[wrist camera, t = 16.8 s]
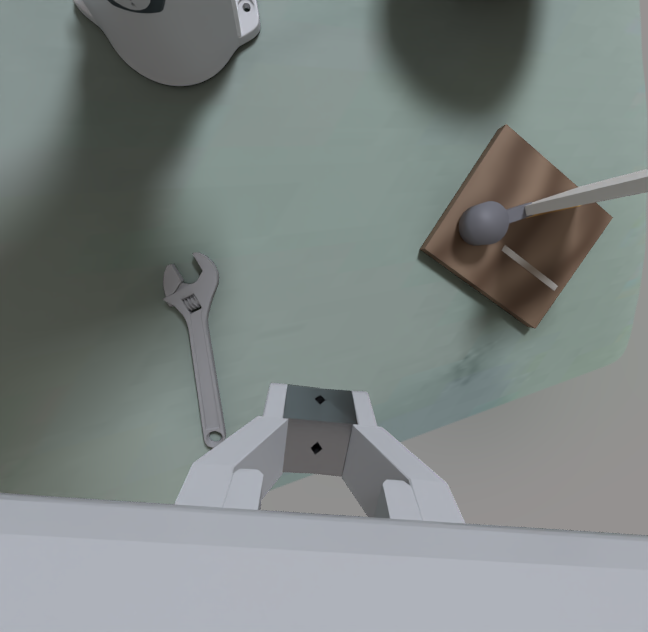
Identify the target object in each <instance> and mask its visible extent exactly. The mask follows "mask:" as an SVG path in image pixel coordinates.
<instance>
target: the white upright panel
mask: <svg viewBox="0 0 648 632" xmlns="http://www.w3.org/2000/svg"><path fill="white" fill-rule="evenodd" d="M645 192H648V169H645V170H641V171H638V172H634V173H630V174H626V175H622V176H618V177H615V178H611V179H607V180H603V181H599V182H595V183H592V184H588V185H584V186H580V187H577V188H574V189H571V190H568V191H565V192H562V193H559V194H556V195H553V196H550V197H547V198H544V199H541V200H538V201H535V202H530V203H526V204H522V205H518V206H515V207H512V208H509V209H505V208H504V207H503V206H502V205H501V204H500V203H498V202H494V201H488V202H484V203H481V204H478V205H474V206H472V207H470V208H468V209H467V210H466V211H465V212H464V213H463V214H462V216H461V218H460V221H459V233H460V235H461V237H462V239H463V240H464V241H465V242H466V243H468V244H470V245H473V246H479V245H489V244H494V243H497V242H498V241H500V240H501V239H502V238H503V237H504V236H505V234H506V232H507V230H508V226H509V223H512V222H515V221H518V220H521V219H524V218H527V217H530V216H533V215H534V214H539V213H544V212H549V211H554V210H559V209H564V208H569V207H574V206H579V205H584V204H589V203H594V202H600V201H605V200H610V199H615V198H620V197H625V196H630V195H635V194H640V193H645Z"/></svg>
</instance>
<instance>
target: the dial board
mask: <svg viewBox="0 0 648 632" xmlns="http://www.w3.org/2000/svg"><path fill="white" fill-rule="evenodd" d="M574 188H577V186H576V185H575V184H574V183H573V182H572V181H571V180H569V179H568V178H567V177H566V176H565V175H564V174H563V173H561V172H560V171H559V170H558V169H557V168H556V167H555V166H554V165H552V164H551V163H550V162H549V161H548V160H547V159H546V158H544V157H543V156H542V155H541V154H540V153H539V152H538V151H536V150H535V149H534V148H533V147H532V146H531V145H530V144H528V143H527V142H526V141H525V140H524V139H523V138H522V137H520V136H519V135H518V134H517V133H516V132H515V131H514V130H512V129H511V128H510V127H509V126H508V125H507V124H506V125H504V126H502V127H501V128H499V129H498V130H497V132H496V133H495V135H494V136H493V138H492V139H491V141H490V142H489V144H488V146H487V147H486V149H485V150H484V152H483V153H482V155H481V156H480V158H479V159H478V161H477V162H476V164H475V165H474V167H473V168H472V170H471V172H470V173H469V175H468V176H467V178H466V179H465V181H464V182H463V184H462V185H461V187H460V188H459V190H458V191H457V193H456V194H455V196H454V198H453V199H452V201H451V202H450V204H449V205H448V207H447V208H446V210H445V211H444V213H443V214H442V216H441V217H440V219H439V220H438V222H437V224H436V225H435V227H434V228H433V230H432V231H431V233H430V234H429V236H428V237H427V239H426V240H425V242H424V243H423V245H422V247H421V248H420V250H422V251H423V252H425V253H426V254H427V255H429V256H430V257H431V258H433V259H434V260H436V261H437V262H438V263H440V264H441V265H443V266H444V267H445V268H447V269H448V270H450V271H451V272H452V273H454V274H455V275H456V276H458V277H459V278H461V279H462V280H463V281H465V282H466V283H468V284H469V285H470V286H472V287H473V288H475V289H476V290H477V291H479V292H480V293H482V294H483V295H484V296H486V297H487V298H488V299H490V300H491V301H493V302H494V303H495V304H497V305H498V306H500V307H501V308H502V309H504V310H505V311H507V312H508V313H509V314H511V315H512V316H513V317H515V318H516V319H518V320H519V321H520V322H522V323H523V324H525V325H526V326H527V327H531V328H536V327H537V326H538V324H539V323H540V321H541V320H542V318H543V317H544V316H545V314H546V313H547V311H548V310H549V308H550V307H551V305H552V304H553V303H554V301H555V300H556V298H557V297H558V295H559V294H560V293H561V291H562V290H563V288H564V287H565V285H566V284H567V283H568V281H569V280H570V278H571V277H572V275H573V274H574V272H575V271H576V270H577V268H578V267H579V265H580V264H581V262H582V261H583V260H584V258H585V257H586V255H587V254H588V252H589V251H590V250H591V248H592V247H593V245H594V244H595V242H596V241H597V239H598V238H599V237H600V235H601V234H602V232H603V231H604V229H605V228H606V227H607V225H608V224H609V222H610V221H611V219H612V218H613V217H612V216H611V215H609V214H608V213H607V212H606V211H605V210H604V209H603V208H601V207H600V206H599V205H598V204H597V203H596V202H594V203H589V204H584V205H579V206H574V207H569V208H564V209H559V210H554V211H549V212H544V213H539V214H534V215H533V216H530V217H527V218H524V219H521V220H518V221H515V222H512V223H509V226H508V230H507V232H506V234H505V236H504V237H503V238H502V239H501V240H500V241H498V242H497V243H494V244H489V245H479V246H473V245H470V244H468V243H466V242H465V241H464V240H463V239H462V237H461V235H460V233H459V221H460V218H461V216H462V214H463V213H464V212H465V211H466V210H467V209H468V208H470V207H472V206H474V205H478V204H481V203H484V202H488V201H494V202H498V203H500V204H501V205H502V206H503V207H504V208H505V209H509V208H512V207H515V206H518V205H522V204H526V203H530V202H535V201H538V200H541V199H544V198H547V197H550V196H553V195H556V194H559V193H562V192H565V191H568V190H571V189H574Z"/></svg>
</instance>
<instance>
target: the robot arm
mask: <svg viewBox="0 0 648 632" xmlns="http://www.w3.org/2000/svg"><path fill="white" fill-rule="evenodd" d="M73 1H74V3H75V4H76V6H77V7H78V9H79V10H80V11H81V12H82V13H83V14H84V15H85V16H86V17H87V18H89V19H90V20H91V21H92V22H94V23H95V24H96V25H97V26H99V27H100V28H101V29H102V31H103V32H104V33H105V35H106V36H107V38H108V39H109V41H110V43H111V44H112V46H113V47H114V49H115V50H116V52H117V53H118V54H119V55H120V57H121V58H122V59H123V60H124V61H125V62H126V63H127V64H128V65H129V66H130V67H132V68H133V69H134V70H136V71H137V72H138V73H140V74H141V75H143V76H145V77H147V78H149V79H151V80H153V81H156V82H159V83H162V84H166V85H172V86H188V85H194V84H197V83H201V82H203V81H205V80H207V79H209V78H211V77H213V76H214V75H215V74H217V73H218V72H219V71H220V70H221V69H222V68H223V67H224V66H225V65H226V63H227V62H228V61H229V59H230V58H231V56H232V55H233V53H234V52H235V51H236V49H237V48H238V47H239V46H241V45H243V44H245V43H246V42H248V41H250V40H251V39H253V38H254V37H255V36H256V35H257V34H258V33H259V31H260V27H261V24H260V17H259V11H258V4H257V0H73ZM245 8H248V9H250V11H249V12H245V11H244V9H245ZM282 472H293V473H313V474H323V475H332V476H342V479H343V480H344V482H345V483H346V485H347V486H348V488H349V489H350V491H351V492H352V494H353V495H354V496H355V498H356V499H357V501H358V502H359V504H360V506H361V507H362V508H363V510H364V512H365V513H366V515H367V516H368V517H360V516H346V515H329V514H314V513H299V512H282V511H267V510H260V509H261V500H262V499H263V497H264V496H265V495H266V493H267V492H268V491H269V490H270V489H271V487H272V486H273V485H274V484H275V482H276V481H277V480H278V479H279V477H280V476H281V475H282ZM0 632H648V535H633V534H620V533H604V532H588V531H574V530H559V529H543V528H527V527H511V526H495V525H480V524H465V521H464V519H463V517H462V515H461V513H460V511H459V508H458V506H457V504H456V502H455V499H454V497H453V495H452V493H451V491H450V488H449V486H448V484H447V483H446V482H445V481H444V480H443V479H442V478H441V477H439V476H438V475H437V474H436V473H435V472H434V471H432V470H431V469H430V468H429V467H428V466H427V465H425V464H424V463H423V462H422V461H421V460H420V459H419V458H417V457H416V456H415V455H414V454H413V453H412V452H411V451H409V450H408V449H407V448H406V447H405V446H403V445H402V444H401V443H400V442H399V441H398V440H397V439H395V438H394V437H393V436H392V435H391V434H390V433H388V432H387V431H386V430H385V429H384V428H383V427H377V423H376V419H375V416H374V412H373V409H372V405H371V401H370V398H369V394H368V393H367V392H366V391H347V390H334V389H321V388H316V387H307V386H299V385H290V384H288V386H287V384H281V383H271V384H270V386H269V390H268V395H267V399H266V403H265V408H264V412H263V416H257V417H256V418H254V419H253V420H252V421H250V422H249V423H247V424H246V425H245V426H243V427H242V428H241V429H239V430H238V431H236V432H235V433H234V434H232V435H231V436H230V437H228V438H227V439H225V440H224V441H223V442H221V443H220V444H219V445H217V446H216V447H214V448H213V449H212V450H210V451H209V452H208V453H206V454H205V455H203V456H202V457H201V458H199V459H198V460H197V461H195V462H194V463H193V464H192V466H191V468H190V471H189V473H188V475H187V477H186V480H185V482H184V484H183V486H182V488H181V491H180V493H179V495H178V497H177V500H176V502H175V504H161V503H146V502H130V501H115V500H100V499H85V498H70V497H54V496H39V495H24V494H9V493H0Z"/></svg>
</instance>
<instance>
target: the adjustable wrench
mask: <svg viewBox="0 0 648 632" xmlns="http://www.w3.org/2000/svg"><path fill="white" fill-rule="evenodd" d="M192 254H193V255H194V257H195V259H196V260H197V262H198V264H199V266H200V267H201V269H202V273H201V274H200V276H199V278H198V280H197V281H196V282H195V283H192V284H186V283H183V282H184V279H183V278H182V276H181V274H180V273H179V271H178V269H177V268H176V266H175V264H170V265H168V266H167V267H166V270H165V273H164V278H163V286H164V291H165V295H166V297H165V298H163V300H164V301H166V302H167V303H168V305H169V306H170V307H172V306H173V305H174V306H175V307H176V308H177V309H178V310H179V311H180V312H181V313H182V315H183V316H184V318H185V320H186V322H187V325H188V329H189V336H190V343H191V350H192V357H193V364H194V371H195V378H196V385H197V392H198V399H199V406H200V413H201V420H202V427H203V434H204V441H205V443H206V445H207V446H209V447H212V448H214V447H216V446H217V445H219V444H220V443H221V442H223V441H224V440H225V438H226V430H225V424H224V418H223V412H222V406H221V399H220V393H219V387H218V381H217V375H216V369H215V362H214V356H213V350H212V344H211V338H210V332H209V325H208V316H209V311H210V307H211V303H212V300H213V297H214V294H215V292H216V289H217V286H218V284H219V272H218V270H217V267H216V265H215V264H214V263H213V261H212V260H211V259H210V258H208V257H207V256H206V255H204V254H201V253H192ZM192 296H193V297H192ZM200 306H201V307H202V308H201V309H199V310H197V311H195V312H192V311H193V310H195V309H197V307H198V308H199V307H200ZM191 310H192V311H191ZM212 431H217V432H220V433H221V434H222V438H221V440H219V441H212V440H211V439H210V438H209V434H210V433H211V432H212Z"/></svg>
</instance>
